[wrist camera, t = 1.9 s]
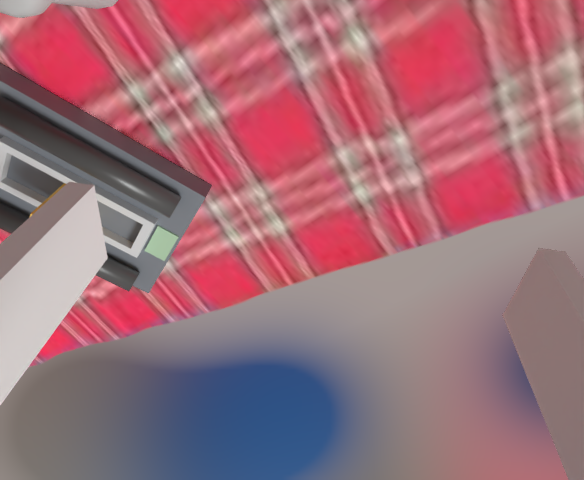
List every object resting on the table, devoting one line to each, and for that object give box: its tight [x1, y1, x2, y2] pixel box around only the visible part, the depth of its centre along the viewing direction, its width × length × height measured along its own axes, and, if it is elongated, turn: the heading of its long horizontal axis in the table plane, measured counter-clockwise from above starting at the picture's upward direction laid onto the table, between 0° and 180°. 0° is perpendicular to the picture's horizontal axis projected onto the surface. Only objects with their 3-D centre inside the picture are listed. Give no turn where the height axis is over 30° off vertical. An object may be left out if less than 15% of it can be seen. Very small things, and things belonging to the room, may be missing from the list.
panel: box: [0, 63, 212, 293], centre depth 45 cm, size 22×16×5 cm
